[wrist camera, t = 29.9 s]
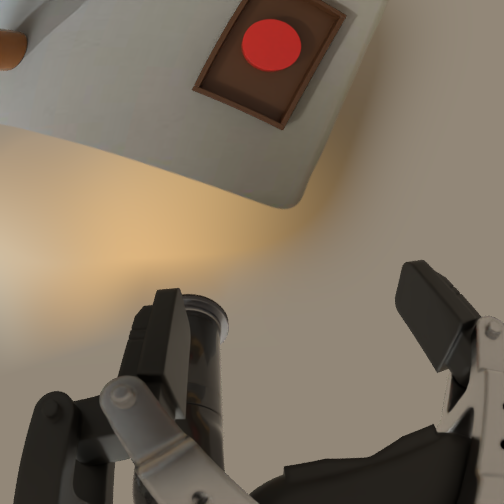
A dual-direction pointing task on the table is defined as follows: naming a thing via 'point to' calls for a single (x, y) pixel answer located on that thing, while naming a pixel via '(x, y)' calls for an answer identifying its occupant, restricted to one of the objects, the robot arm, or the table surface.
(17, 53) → the jar
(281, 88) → the tray
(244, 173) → the table surface
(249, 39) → the lid
